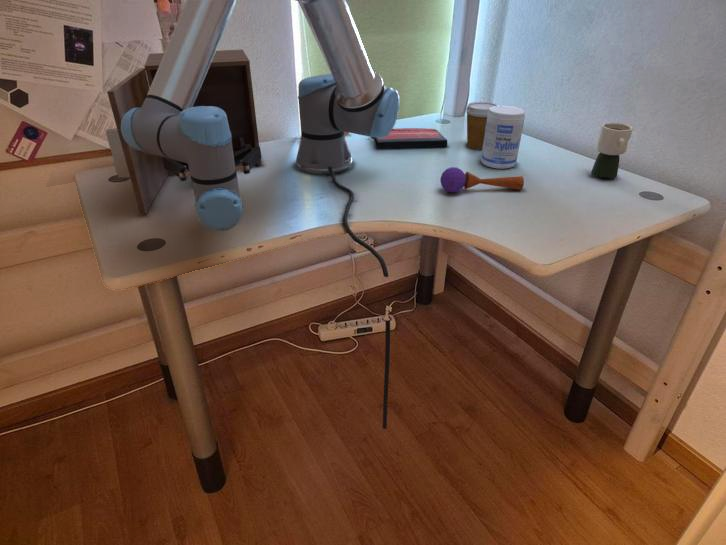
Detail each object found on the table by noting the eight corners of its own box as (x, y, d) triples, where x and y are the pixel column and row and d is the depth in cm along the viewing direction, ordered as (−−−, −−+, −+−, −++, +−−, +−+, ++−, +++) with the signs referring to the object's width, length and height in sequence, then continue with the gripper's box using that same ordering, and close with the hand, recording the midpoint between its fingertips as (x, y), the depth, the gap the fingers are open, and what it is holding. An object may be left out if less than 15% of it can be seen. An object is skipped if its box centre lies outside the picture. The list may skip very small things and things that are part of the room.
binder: (447, 139, 146) (377, 141, 145) (447, 147, 148) (377, 149, 146) (436, 126, 160) (372, 128, 159) (435, 133, 161) (372, 135, 160)
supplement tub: (493, 172, 131) (502, 116, 123) (473, 160, 138) (480, 107, 130) (523, 167, 134) (533, 112, 126) (502, 156, 141) (510, 103, 133)
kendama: (528, 179, 116) (445, 175, 114) (520, 200, 120) (440, 196, 118) (521, 166, 120) (441, 161, 118) (514, 186, 124) (436, 182, 122)
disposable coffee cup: (495, 143, 151) (501, 103, 145) (491, 152, 144) (497, 111, 137) (464, 140, 154) (468, 100, 147) (459, 149, 146) (463, 108, 140)
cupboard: (274, 200, 115) (261, 79, 101) (127, 218, 108) (90, 89, 93) (254, 146, 149) (242, 49, 134) (141, 156, 141) (116, 55, 126)
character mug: (625, 184, 124) (641, 133, 117) (597, 184, 124) (611, 132, 117) (608, 168, 133) (622, 120, 126) (582, 168, 133) (594, 120, 126)
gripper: (151, 206, 93) (157, 167, 110) (282, 191, 99) (268, 156, 116) (141, 169, 89) (149, 134, 106) (279, 155, 95) (265, 124, 112)
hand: (211, 145), depth 111 cm, fingers open, 13 cm apart
